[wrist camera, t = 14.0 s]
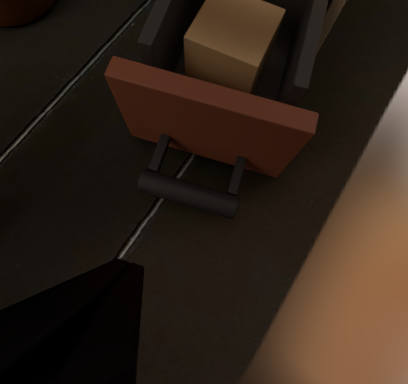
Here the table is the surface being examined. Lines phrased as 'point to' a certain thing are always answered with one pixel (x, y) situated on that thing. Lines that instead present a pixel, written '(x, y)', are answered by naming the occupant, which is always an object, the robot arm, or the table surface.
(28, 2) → the mug
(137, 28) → the table surface
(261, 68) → the block
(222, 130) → the drawer
